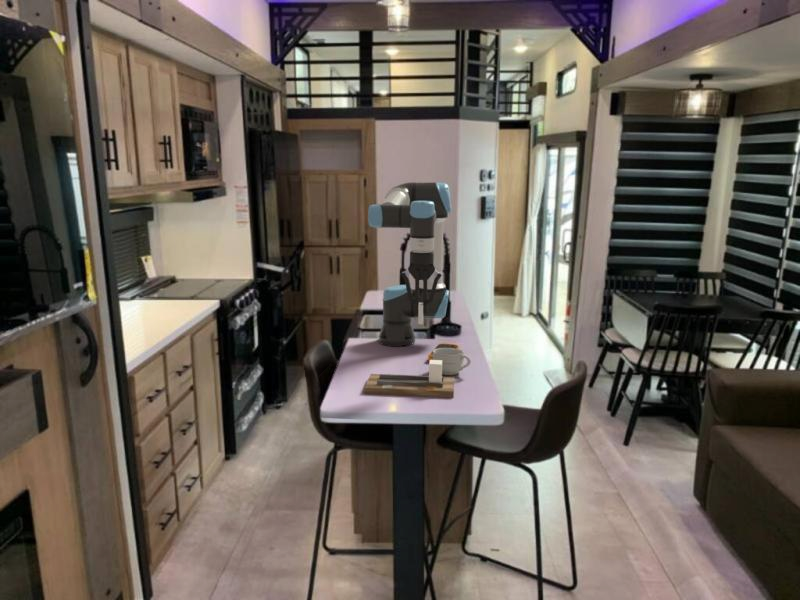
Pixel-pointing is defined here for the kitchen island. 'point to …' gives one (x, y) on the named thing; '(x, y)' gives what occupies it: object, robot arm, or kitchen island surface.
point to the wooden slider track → (409, 385)
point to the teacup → (451, 360)
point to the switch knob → (435, 371)
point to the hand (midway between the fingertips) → (420, 323)
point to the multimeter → (443, 345)
